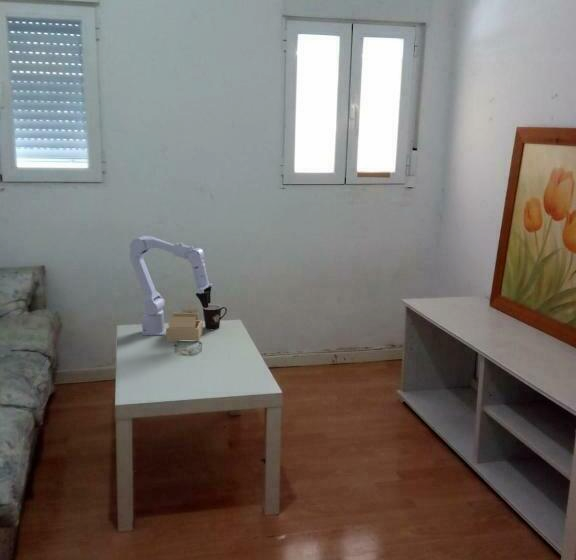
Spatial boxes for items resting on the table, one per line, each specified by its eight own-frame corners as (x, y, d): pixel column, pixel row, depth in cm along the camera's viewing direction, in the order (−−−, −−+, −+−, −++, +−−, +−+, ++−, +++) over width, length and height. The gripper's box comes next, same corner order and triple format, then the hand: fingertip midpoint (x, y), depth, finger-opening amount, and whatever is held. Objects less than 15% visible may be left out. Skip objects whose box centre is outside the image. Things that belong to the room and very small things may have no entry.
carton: (166, 341, 276) (166, 328, 274) (171, 332, 287) (171, 319, 286) (198, 342, 276) (198, 328, 274) (202, 332, 287) (202, 320, 286)
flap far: (197, 313, 282) (197, 312, 282) (172, 313, 282) (172, 312, 282) (198, 320, 285) (198, 319, 285) (174, 319, 285) (174, 319, 285)
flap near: (170, 316, 277) (170, 316, 276) (195, 317, 277) (195, 316, 276) (169, 327, 275) (169, 327, 275) (195, 327, 275) (195, 327, 274)
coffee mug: (204, 331, 290) (203, 310, 287) (202, 325, 298) (201, 304, 295) (229, 329, 292) (229, 308, 290) (226, 323, 301) (226, 303, 298)
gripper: (207, 277, 269) (214, 308, 271) (211, 270, 283) (217, 300, 286) (191, 280, 269) (197, 311, 272) (196, 273, 283) (202, 302, 286)
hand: (207, 305), depth 279 cm, fingers open, 7 cm apart
